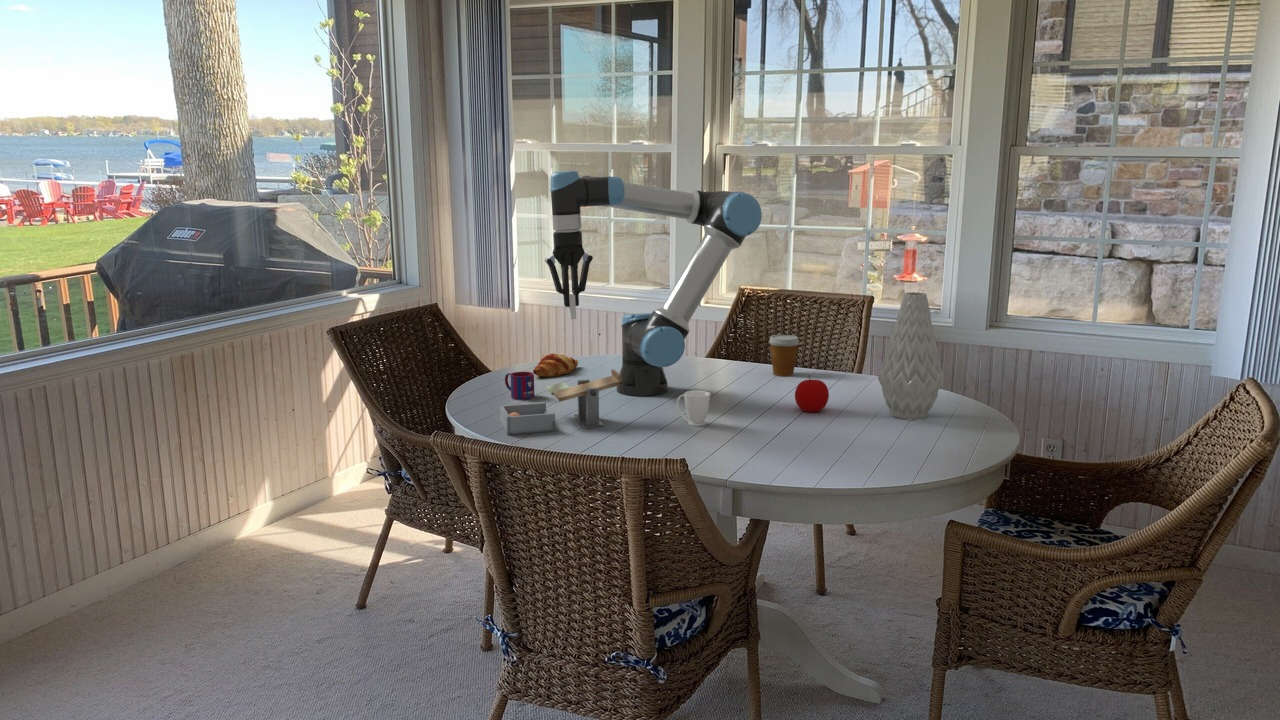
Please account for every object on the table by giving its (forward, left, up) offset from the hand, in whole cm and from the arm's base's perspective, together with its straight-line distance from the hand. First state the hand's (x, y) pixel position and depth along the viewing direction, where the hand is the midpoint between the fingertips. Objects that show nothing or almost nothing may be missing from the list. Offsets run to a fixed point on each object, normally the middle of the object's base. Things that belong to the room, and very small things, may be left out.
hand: (572, 318), depth 258 cm
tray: (+16, +15, -25) cm, 33 cm away
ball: (+19, +15, -23) cm, 33 cm away
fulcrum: (0, +15, -25) cm, 29 cm away
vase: (-83, +35, -25) cm, 93 cm away
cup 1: (+12, -18, -25) cm, 33 cm away
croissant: (-5, -45, -25) cm, 52 cm away
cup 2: (-26, +24, -25) cm, 43 cm away
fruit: (-61, +22, -25) cm, 69 cm away
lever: (0, +11, -16) cm, 20 cm away
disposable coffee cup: (-73, -21, -25) cm, 80 cm away
